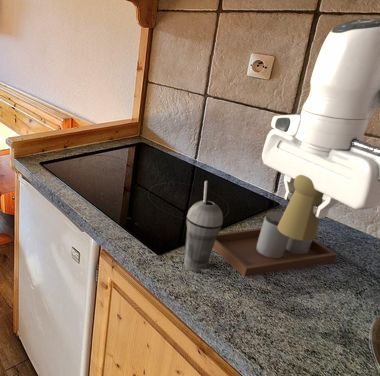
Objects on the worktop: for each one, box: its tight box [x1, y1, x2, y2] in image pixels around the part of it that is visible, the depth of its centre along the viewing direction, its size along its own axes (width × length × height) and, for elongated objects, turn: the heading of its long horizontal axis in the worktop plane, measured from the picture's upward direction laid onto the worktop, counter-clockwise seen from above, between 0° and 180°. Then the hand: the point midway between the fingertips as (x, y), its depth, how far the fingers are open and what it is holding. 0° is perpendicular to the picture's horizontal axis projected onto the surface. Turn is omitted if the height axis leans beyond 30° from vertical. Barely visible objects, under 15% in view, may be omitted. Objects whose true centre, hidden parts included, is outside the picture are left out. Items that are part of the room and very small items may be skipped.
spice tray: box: [212, 227, 338, 278], centre depth 93 cm, size 24×14×3 cm, turn 105°
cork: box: [277, 175, 324, 241], centre depth 69 cm, size 6×6×11 cm
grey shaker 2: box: [286, 238, 313, 254], centre depth 93 cm, size 6×6×9 cm
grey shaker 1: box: [256, 211, 290, 258], centre depth 91 cm, size 6×6×9 cm
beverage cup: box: [183, 180, 224, 272], centre depth 85 cm, size 7×7×20 cm
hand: (303, 208), depth 69 cm, fingers closed on cork, 4 cm apart
